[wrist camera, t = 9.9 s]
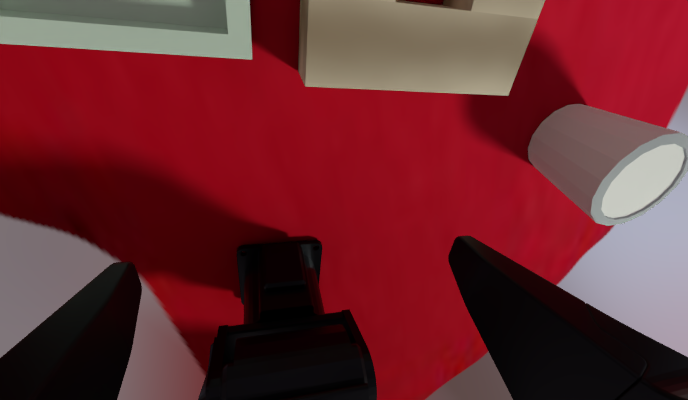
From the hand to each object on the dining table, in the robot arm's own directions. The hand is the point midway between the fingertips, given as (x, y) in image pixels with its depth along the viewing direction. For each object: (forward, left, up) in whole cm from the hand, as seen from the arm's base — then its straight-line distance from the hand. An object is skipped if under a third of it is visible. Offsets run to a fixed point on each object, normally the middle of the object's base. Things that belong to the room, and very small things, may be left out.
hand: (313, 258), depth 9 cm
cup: (-2, -22, -13) cm, 26 cm away
